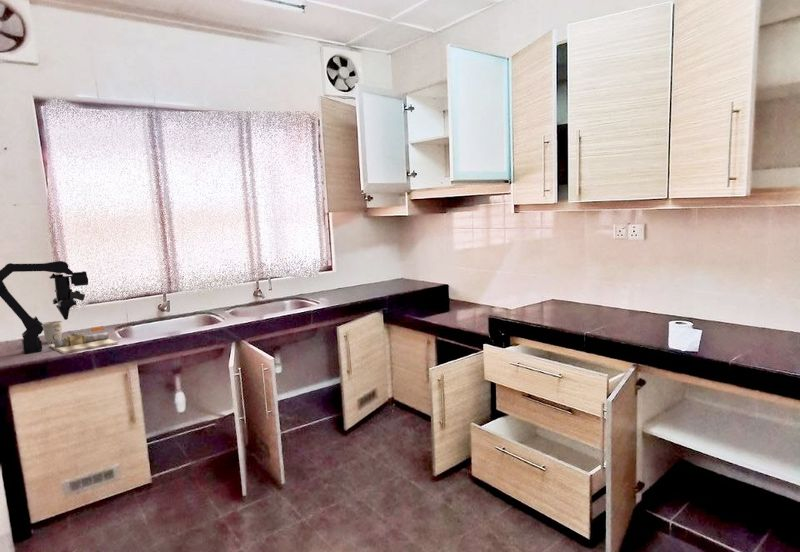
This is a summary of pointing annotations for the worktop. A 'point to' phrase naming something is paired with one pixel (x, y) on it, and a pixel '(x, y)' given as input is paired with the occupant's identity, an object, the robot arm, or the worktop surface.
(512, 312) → the worktop surface
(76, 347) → the valve board
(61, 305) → the robot arm
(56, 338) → the mug
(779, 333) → the worktop surface
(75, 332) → the valve lever
